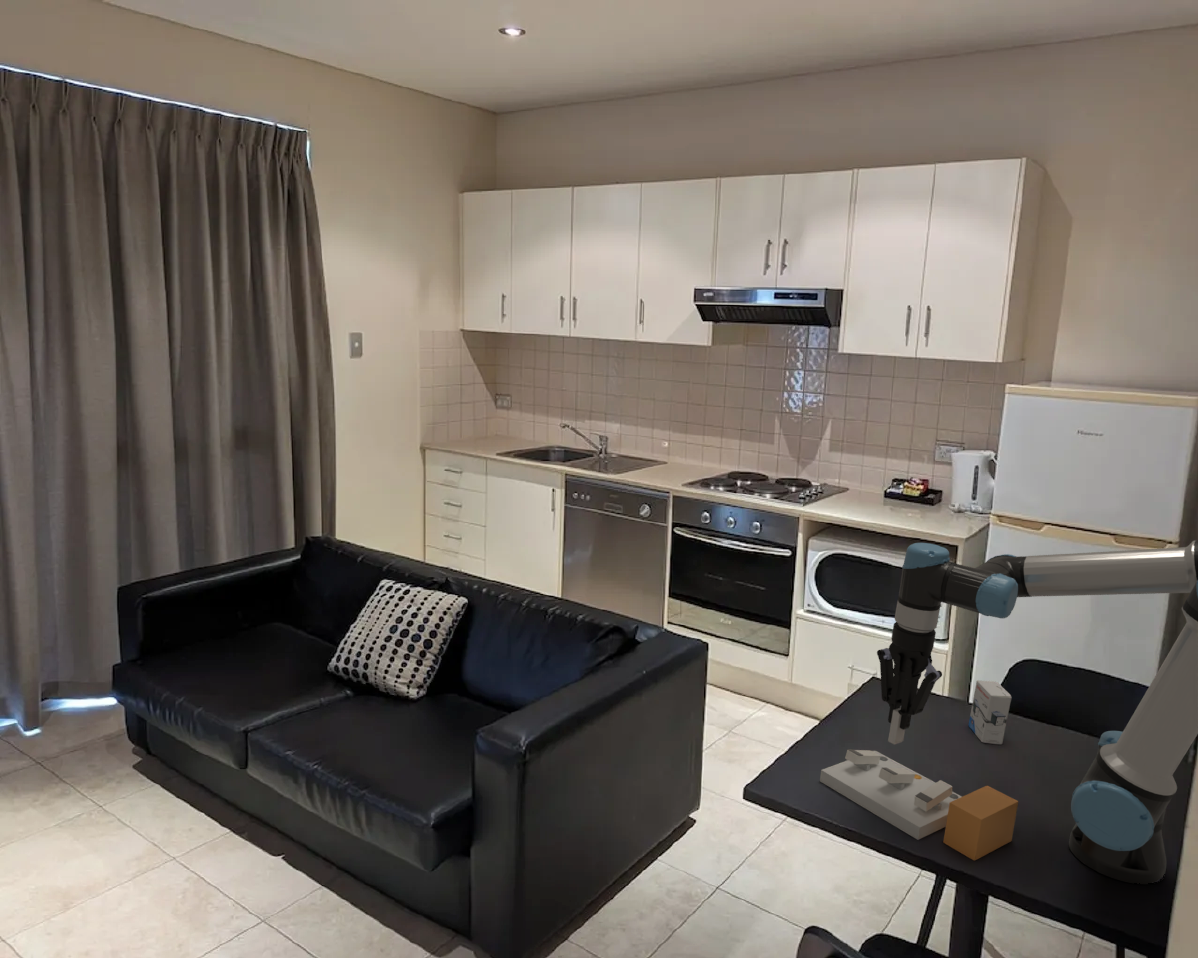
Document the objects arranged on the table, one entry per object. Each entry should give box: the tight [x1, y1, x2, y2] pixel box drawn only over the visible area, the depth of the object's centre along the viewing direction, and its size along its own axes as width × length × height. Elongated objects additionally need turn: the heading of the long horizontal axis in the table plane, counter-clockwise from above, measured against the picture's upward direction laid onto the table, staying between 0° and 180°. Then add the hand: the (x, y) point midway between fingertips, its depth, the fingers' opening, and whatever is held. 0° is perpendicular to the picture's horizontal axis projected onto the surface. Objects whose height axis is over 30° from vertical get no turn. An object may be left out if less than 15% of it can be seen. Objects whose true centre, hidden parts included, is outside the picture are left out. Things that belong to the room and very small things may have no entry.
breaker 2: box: [879, 768, 915, 783], centre depth 176 cm, size 3×8×2 cm, turn 126°
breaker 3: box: [914, 779, 953, 811], centre depth 169 cm, size 3×8×2 cm, turn 126°
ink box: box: [968, 679, 1012, 745], centre depth 205 cm, size 9×5×12 cm, turn 179°
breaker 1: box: [844, 748, 881, 764], centre depth 182 cm, size 3×8×2 cm, turn 125°
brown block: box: [942, 785, 1019, 861], centre depth 162 cm, size 6×12×8 cm, turn 126°
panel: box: [819, 750, 963, 841], centre depth 176 cm, size 23×17×4 cm
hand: (895, 741), depth 171 cm, fingers closed
